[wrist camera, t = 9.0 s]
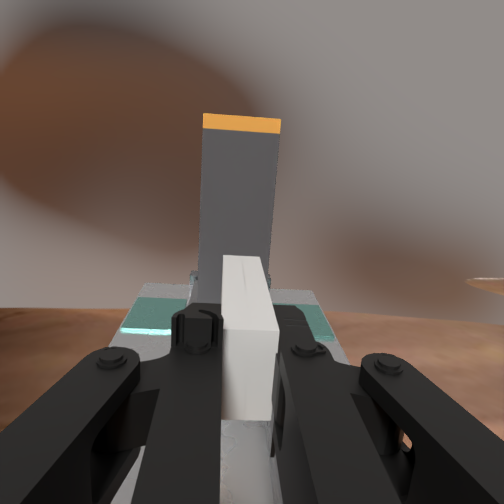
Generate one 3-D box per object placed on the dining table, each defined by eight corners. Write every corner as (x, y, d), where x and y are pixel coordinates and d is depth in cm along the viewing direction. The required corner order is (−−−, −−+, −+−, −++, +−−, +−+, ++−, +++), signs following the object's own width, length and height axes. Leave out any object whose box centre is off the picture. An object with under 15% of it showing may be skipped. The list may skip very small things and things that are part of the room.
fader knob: (263, 323, 27) (280, 119, 23) (196, 320, 26) (203, 113, 23) (259, 299, 30) (273, 121, 27) (200, 297, 30) (207, 116, 27)
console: (460, 654, 12) (487, 570, 11) (-34, 662, 11) (-51, 569, 10) (309, 312, 35) (313, 275, 34) (145, 304, 34) (145, 266, 33)
